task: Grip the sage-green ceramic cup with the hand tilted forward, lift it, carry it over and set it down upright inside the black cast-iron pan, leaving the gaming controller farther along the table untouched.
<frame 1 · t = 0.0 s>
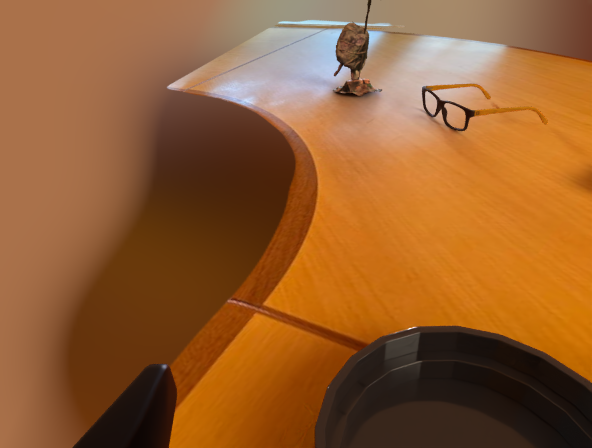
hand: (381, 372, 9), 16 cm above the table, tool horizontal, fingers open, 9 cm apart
eyeglasses: (476, 117, 67), on the table
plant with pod: (353, 92, 83), on the table
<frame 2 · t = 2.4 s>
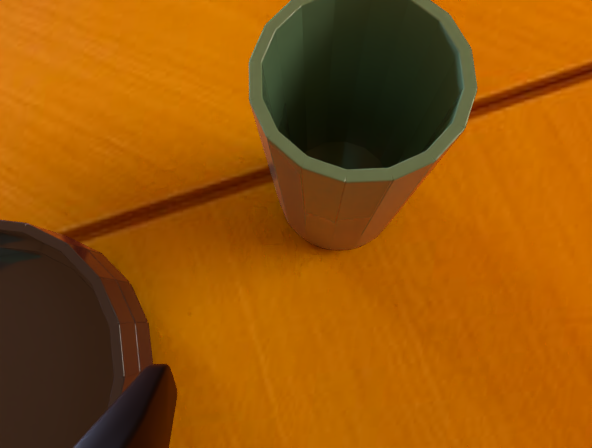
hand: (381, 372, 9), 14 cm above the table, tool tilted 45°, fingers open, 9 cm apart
pan: (19, 371, 22), on the table
cup: (337, 193, 24), on the table
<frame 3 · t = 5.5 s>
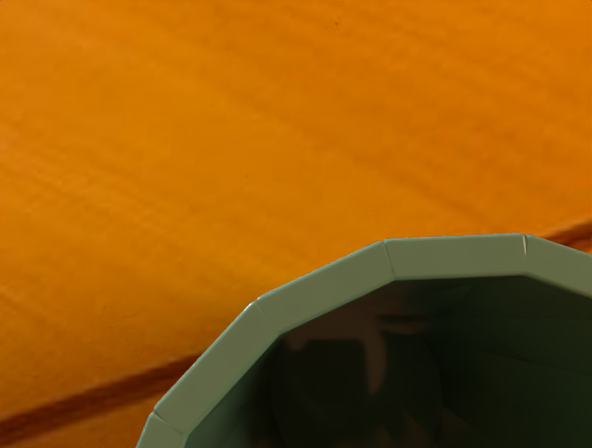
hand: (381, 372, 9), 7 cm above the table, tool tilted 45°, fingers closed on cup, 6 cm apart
cup: (354, 387, 15), on the table, touching gripper
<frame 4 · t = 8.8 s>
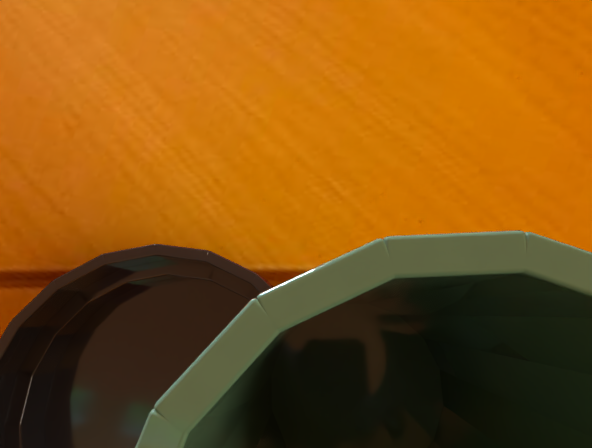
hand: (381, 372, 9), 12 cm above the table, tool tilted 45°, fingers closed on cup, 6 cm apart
pan: (179, 408, 20), on the table
cup: (354, 387, 15), point 6 cm above the table, touching gripper
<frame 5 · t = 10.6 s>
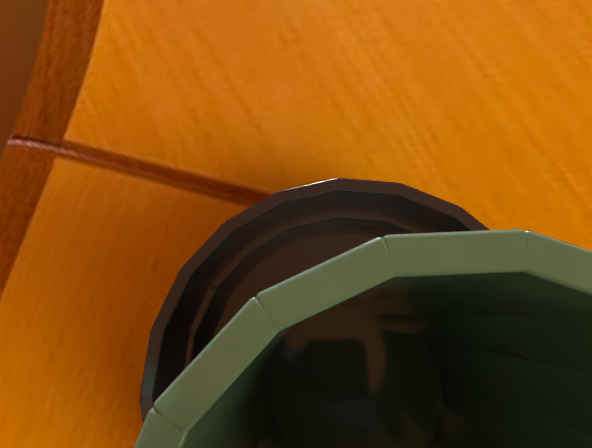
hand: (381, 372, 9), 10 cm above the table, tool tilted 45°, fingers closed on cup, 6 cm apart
pan: (346, 370, 18), on the table
cup: (354, 386, 15), point 3 cm above the table, touching gripper
when the fingers open (7 cm above the table, at t = 12.0 s): cup stays where it is, resting on pan.
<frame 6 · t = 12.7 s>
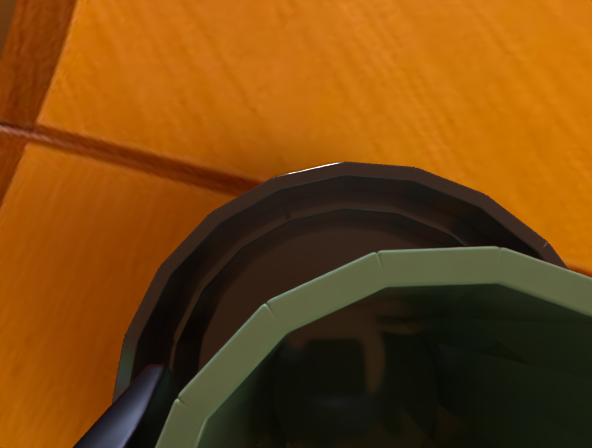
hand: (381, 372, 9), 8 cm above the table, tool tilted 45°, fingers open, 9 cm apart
pan: (352, 383, 16), on the table
cup: (353, 385, 15), point 1 cm above the table, touching pan
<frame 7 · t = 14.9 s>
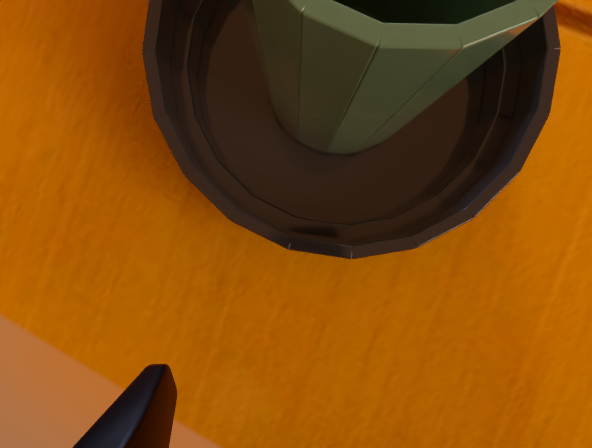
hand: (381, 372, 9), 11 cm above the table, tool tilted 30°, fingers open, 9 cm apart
pan: (339, 83, 19), on the table
cup: (340, 79, 18), point 1 cm above the table, touching pan
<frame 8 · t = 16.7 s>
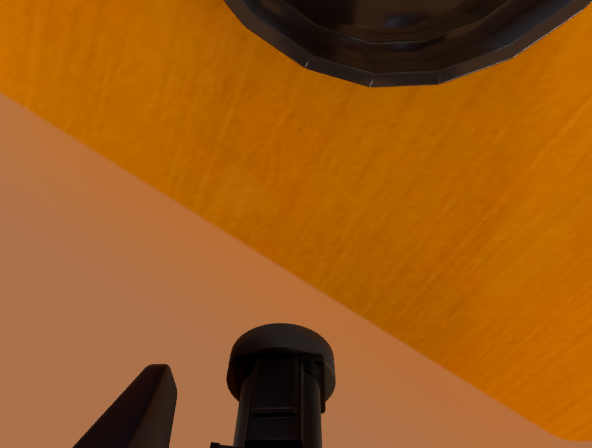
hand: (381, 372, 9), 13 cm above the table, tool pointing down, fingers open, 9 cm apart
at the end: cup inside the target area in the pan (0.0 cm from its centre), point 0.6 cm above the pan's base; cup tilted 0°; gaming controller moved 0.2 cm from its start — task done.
